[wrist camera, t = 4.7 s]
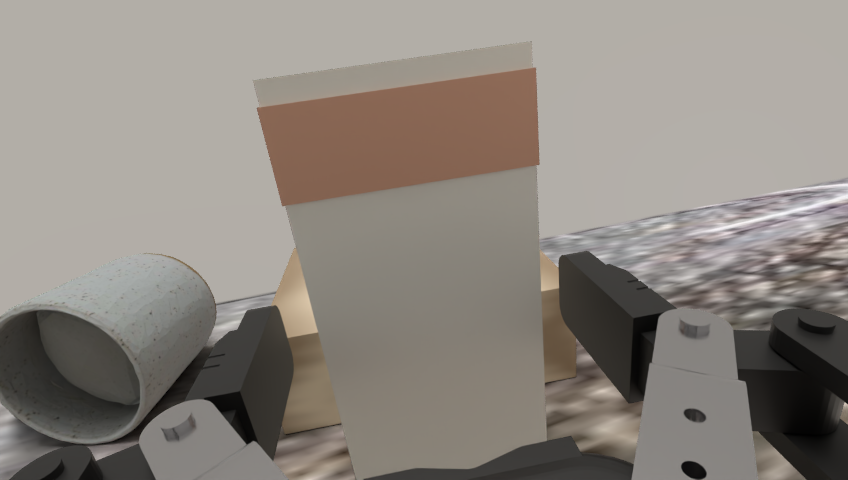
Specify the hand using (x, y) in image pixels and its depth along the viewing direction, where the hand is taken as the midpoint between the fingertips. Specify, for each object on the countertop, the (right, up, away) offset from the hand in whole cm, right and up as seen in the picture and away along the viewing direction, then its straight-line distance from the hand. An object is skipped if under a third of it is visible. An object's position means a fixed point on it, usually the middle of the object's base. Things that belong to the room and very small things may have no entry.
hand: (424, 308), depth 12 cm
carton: (+1, -7, +4) cm, 9 cm away
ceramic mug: (-17, -7, +12) cm, 22 cm away
